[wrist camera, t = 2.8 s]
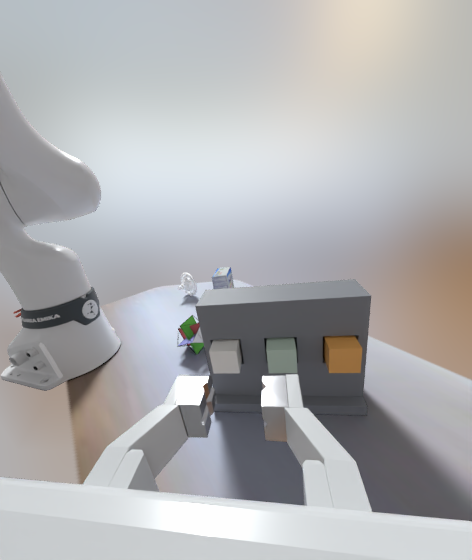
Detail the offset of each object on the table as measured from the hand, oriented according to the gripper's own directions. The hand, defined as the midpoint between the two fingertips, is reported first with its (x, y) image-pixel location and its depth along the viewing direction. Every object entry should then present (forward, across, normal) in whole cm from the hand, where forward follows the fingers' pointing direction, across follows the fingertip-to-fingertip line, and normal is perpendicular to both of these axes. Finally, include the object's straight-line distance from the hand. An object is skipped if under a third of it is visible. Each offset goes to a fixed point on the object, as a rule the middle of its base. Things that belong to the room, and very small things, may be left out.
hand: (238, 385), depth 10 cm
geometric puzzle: (+29, +15, +20) cm, 38 cm away
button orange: (+16, -9, +13) cm, 22 cm away
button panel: (+19, -2, +20) cm, 27 cm away
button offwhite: (+16, +5, +13) cm, 21 cm away
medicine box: (+52, +13, +20) cm, 57 cm away
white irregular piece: (+55, +26, +20) cm, 64 cm away
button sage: (+16, -2, +13) cm, 20 cm away
